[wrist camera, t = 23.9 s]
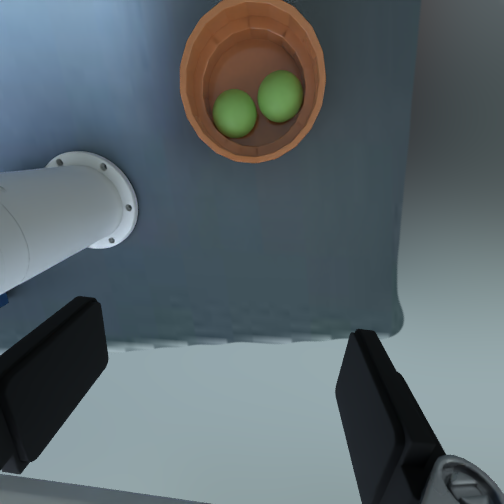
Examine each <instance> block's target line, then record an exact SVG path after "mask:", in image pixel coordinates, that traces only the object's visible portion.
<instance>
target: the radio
mask: <svg viewBox="0 0 504 504" xmlns="http://www.w3.org/2000/svg"><path fill="white" fill-rule="evenodd" d="M7 303H9V302H8V298H7V293H6V292H5V293H3V294H1V295H0V308H1V307H2V306H4V305H6V304H7Z"/></svg>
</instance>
